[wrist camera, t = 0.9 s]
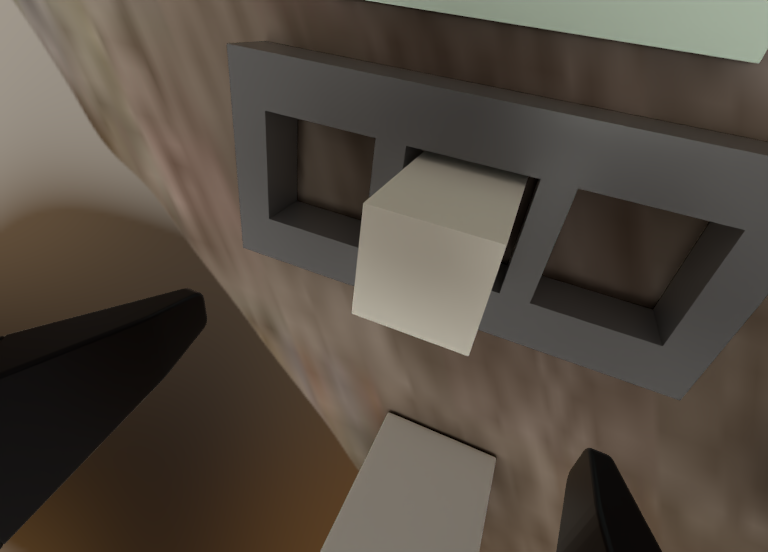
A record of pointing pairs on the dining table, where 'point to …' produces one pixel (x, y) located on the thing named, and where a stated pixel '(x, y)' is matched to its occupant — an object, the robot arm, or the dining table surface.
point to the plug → (435, 248)
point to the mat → (632, 21)
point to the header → (546, 209)
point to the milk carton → (415, 494)
